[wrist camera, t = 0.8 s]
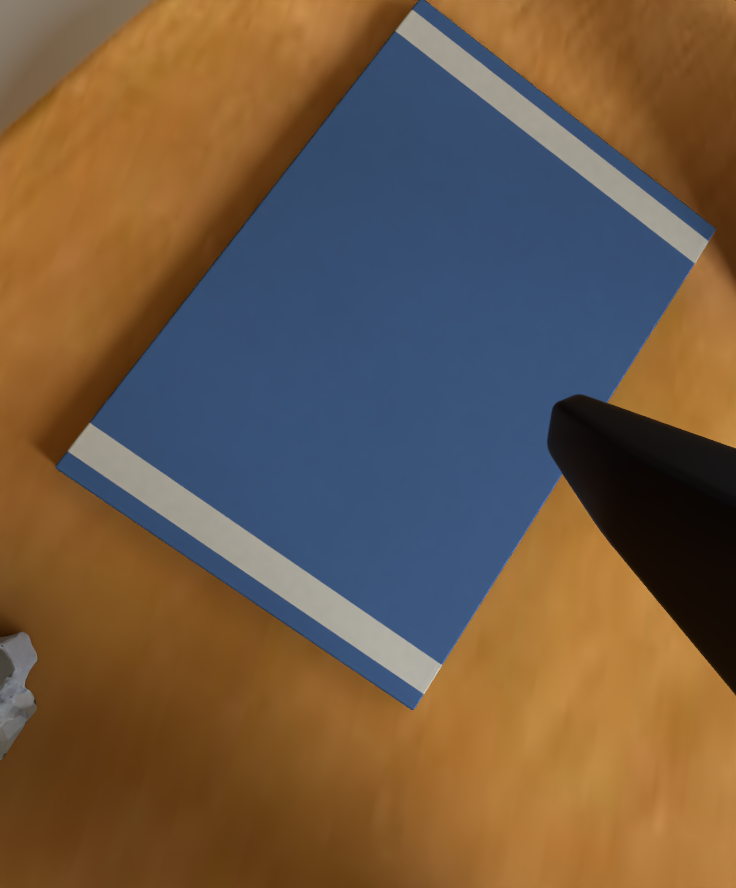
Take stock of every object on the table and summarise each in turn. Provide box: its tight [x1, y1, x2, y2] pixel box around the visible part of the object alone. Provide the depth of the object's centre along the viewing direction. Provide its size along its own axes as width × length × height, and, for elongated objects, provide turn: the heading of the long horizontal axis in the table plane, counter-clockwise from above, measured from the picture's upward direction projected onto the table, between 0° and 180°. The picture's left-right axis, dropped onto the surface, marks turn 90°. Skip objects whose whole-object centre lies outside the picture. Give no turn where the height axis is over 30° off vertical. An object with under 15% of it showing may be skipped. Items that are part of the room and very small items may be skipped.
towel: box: [55, 0, 716, 710], centre depth 24 cm, size 14×21×1 cm, turn 145°
